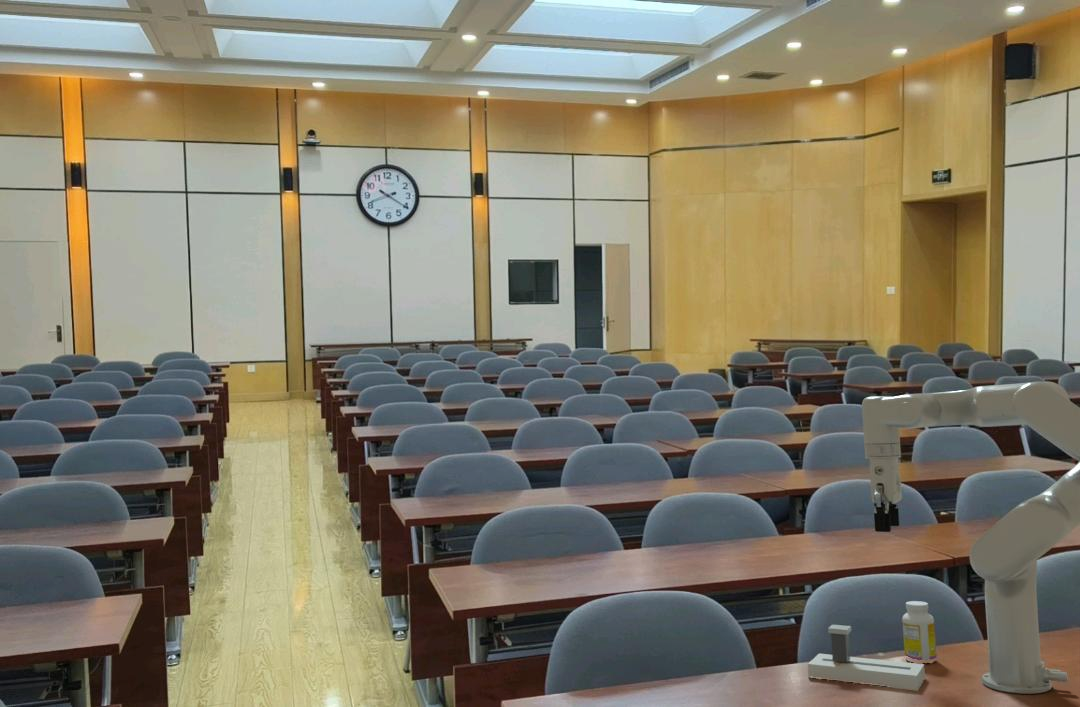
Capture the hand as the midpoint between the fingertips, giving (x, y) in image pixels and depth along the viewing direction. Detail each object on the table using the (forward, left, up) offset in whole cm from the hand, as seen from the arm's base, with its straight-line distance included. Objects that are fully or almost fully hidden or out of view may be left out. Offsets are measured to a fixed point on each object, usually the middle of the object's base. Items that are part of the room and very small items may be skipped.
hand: (887, 528), depth 206 cm
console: (+4, +11, -30) cm, 32 cm away
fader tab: (+9, +11, -27) cm, 30 cm away
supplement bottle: (-4, -7, -31) cm, 32 cm away
